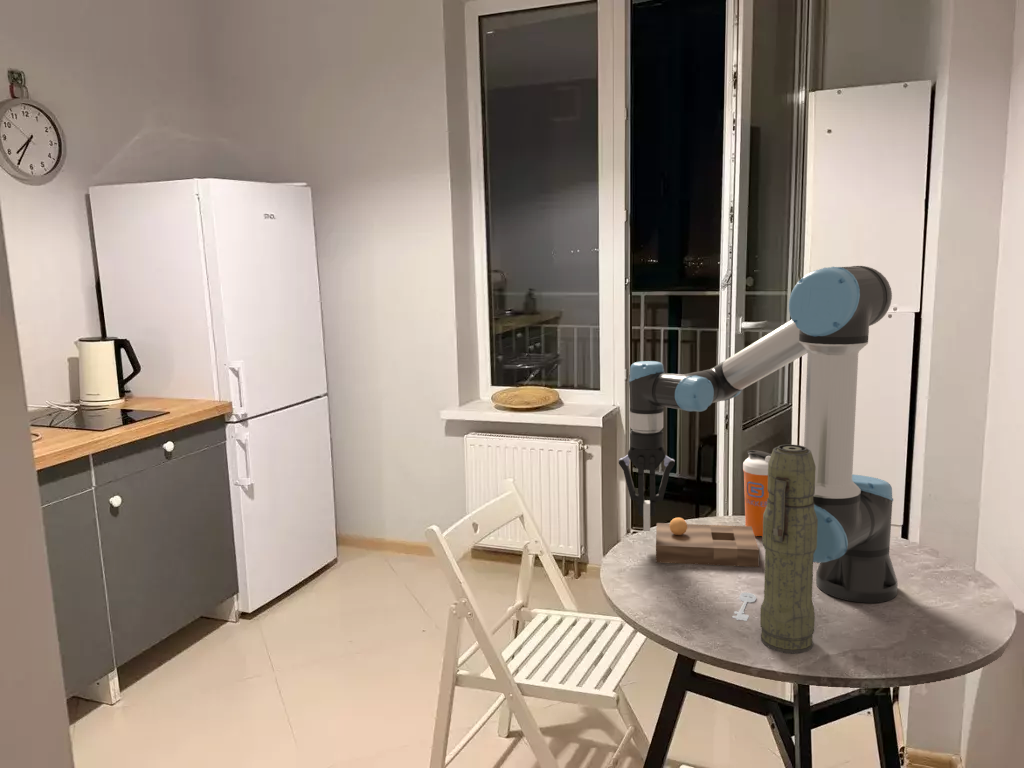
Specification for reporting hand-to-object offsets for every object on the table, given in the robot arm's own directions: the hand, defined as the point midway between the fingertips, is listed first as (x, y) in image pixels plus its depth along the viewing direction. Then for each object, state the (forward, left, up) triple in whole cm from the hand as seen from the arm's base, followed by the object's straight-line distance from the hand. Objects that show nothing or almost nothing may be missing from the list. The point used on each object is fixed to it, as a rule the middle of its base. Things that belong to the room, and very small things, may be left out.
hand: (646, 529), depth 182 cm
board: (0, -13, -5) cm, 14 cm away
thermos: (-41, -25, -5) cm, 48 cm away
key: (-28, -19, -6) cm, 34 cm away
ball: (0, -7, +1) cm, 7 cm away
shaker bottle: (+15, -27, -5) cm, 32 cm away
